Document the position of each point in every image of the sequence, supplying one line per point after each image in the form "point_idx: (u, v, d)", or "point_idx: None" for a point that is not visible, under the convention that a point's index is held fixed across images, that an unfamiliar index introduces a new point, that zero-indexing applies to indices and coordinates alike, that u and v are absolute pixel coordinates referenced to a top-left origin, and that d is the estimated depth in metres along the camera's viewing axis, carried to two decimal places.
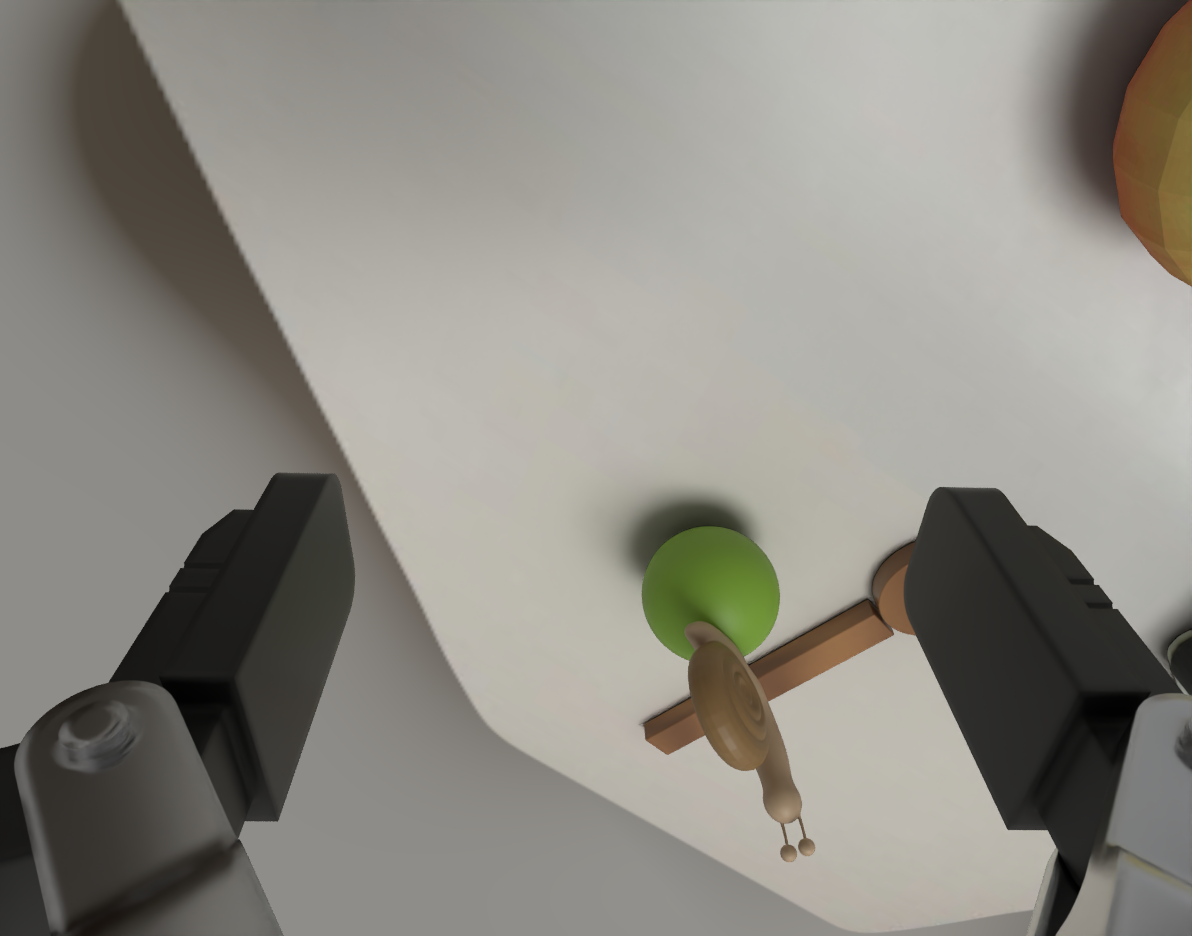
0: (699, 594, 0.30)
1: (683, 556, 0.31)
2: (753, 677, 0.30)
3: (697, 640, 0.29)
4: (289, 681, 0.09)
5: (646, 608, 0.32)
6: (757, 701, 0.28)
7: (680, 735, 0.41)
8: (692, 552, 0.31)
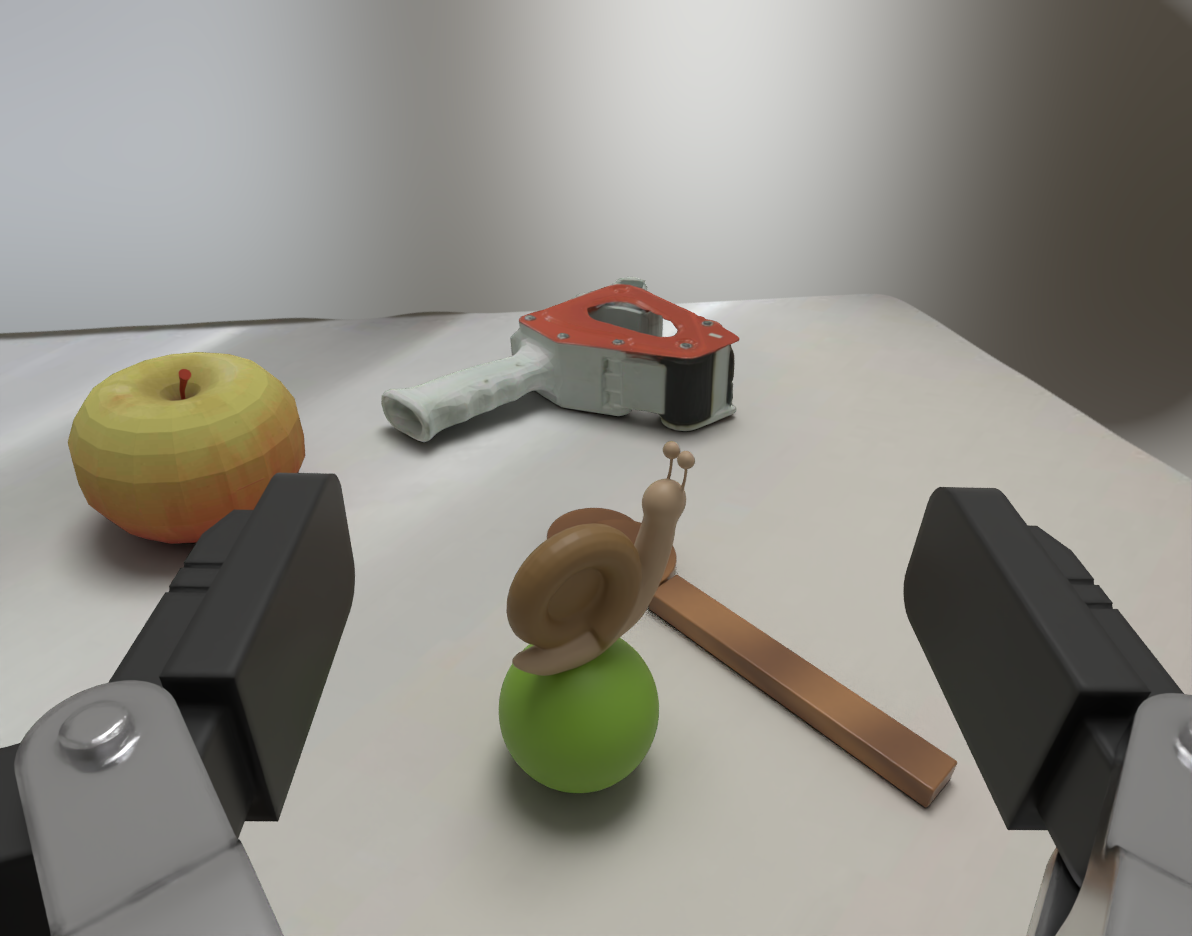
0: (522, 688, 0.26)
1: (506, 730, 0.27)
2: None
3: (529, 651, 0.25)
4: (289, 681, 0.09)
5: (577, 757, 0.25)
6: None
7: (905, 747, 0.29)
8: (502, 723, 0.27)
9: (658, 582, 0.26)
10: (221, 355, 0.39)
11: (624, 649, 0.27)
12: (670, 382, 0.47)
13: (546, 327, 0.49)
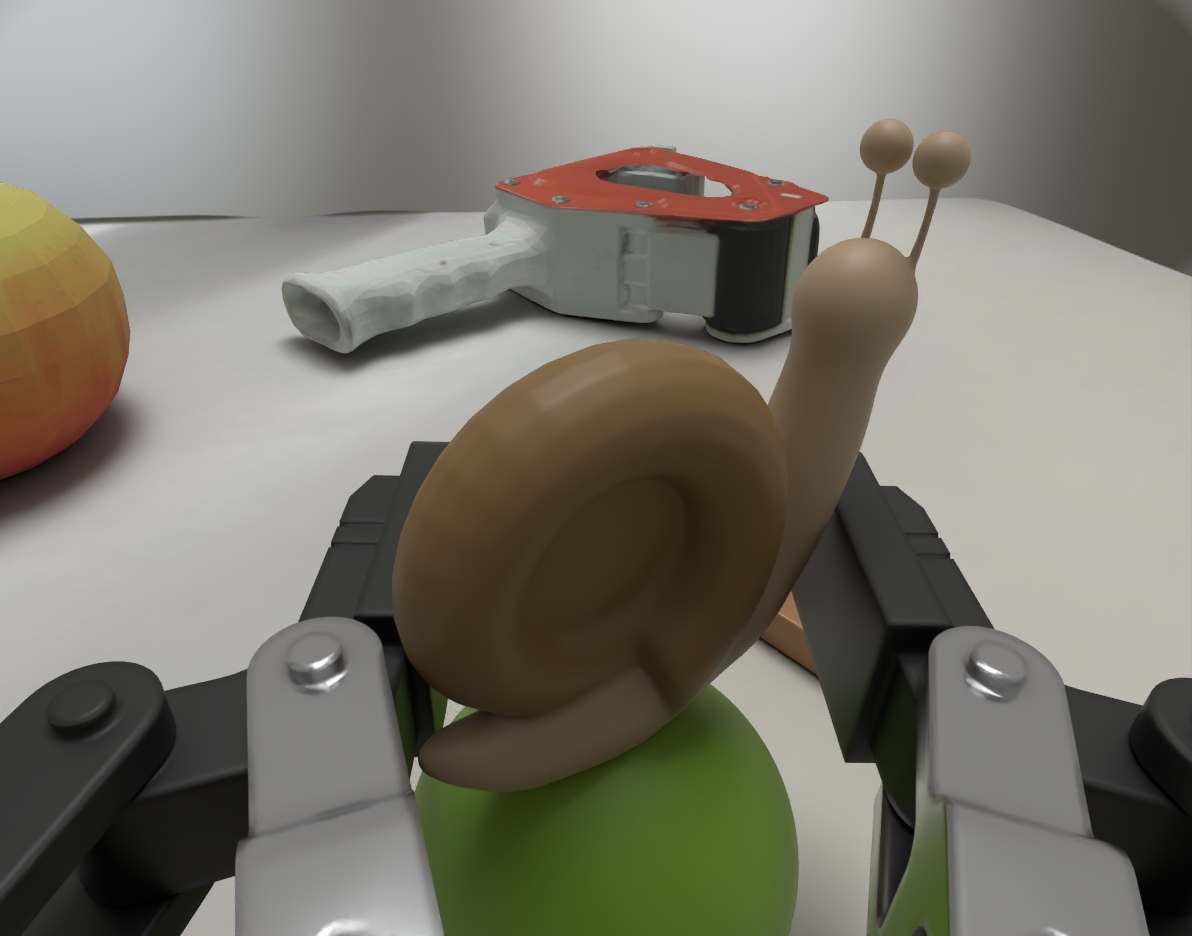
0: (456, 815, 0.10)
1: None
2: None
3: (470, 726, 0.08)
4: None
5: None
6: None
7: None
8: None
9: (819, 536, 0.10)
10: None
11: (717, 707, 0.11)
12: (724, 263, 0.31)
13: (535, 191, 0.33)
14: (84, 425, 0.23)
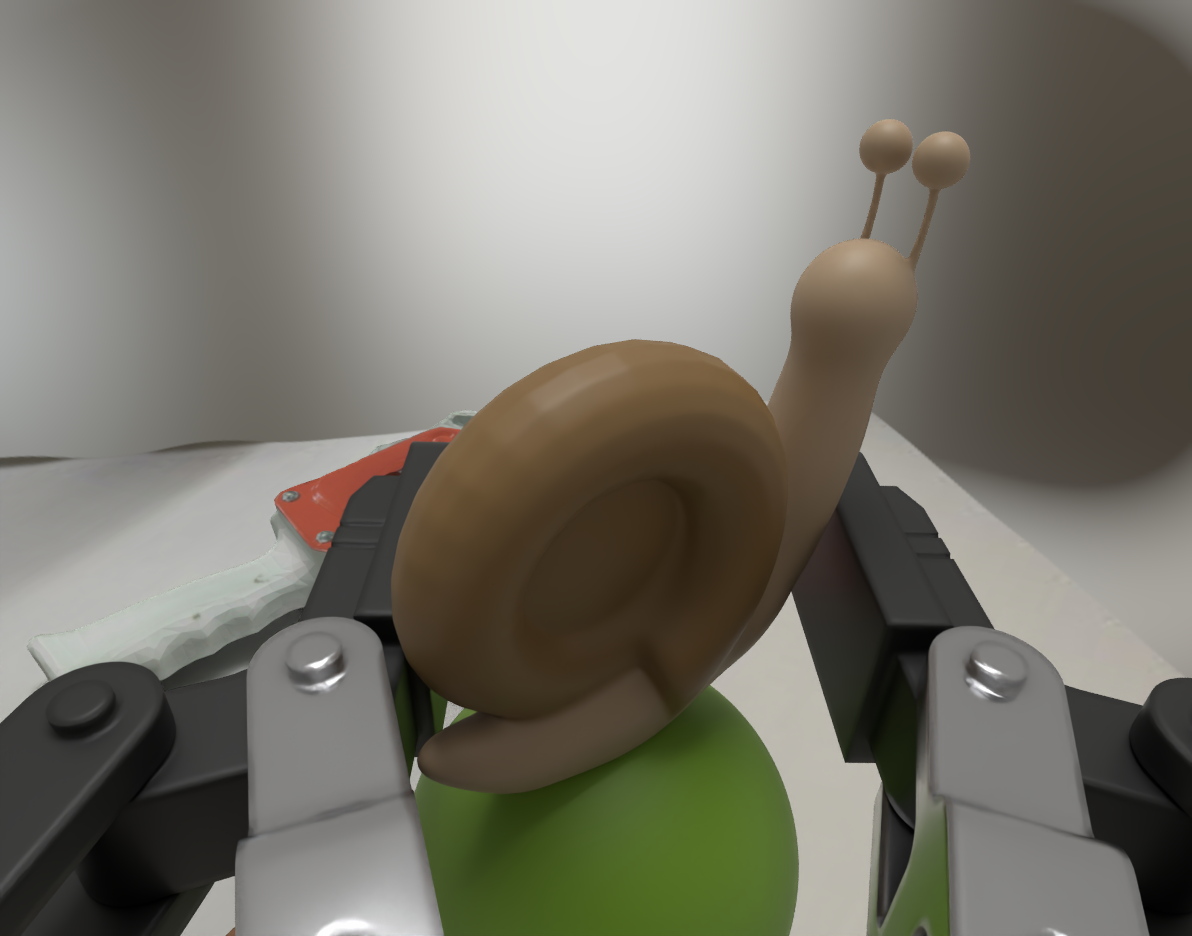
0: (455, 818, 0.10)
1: None
2: None
3: (470, 728, 0.08)
4: None
5: None
6: None
7: None
8: None
9: (819, 537, 0.10)
10: None
11: (717, 707, 0.11)
12: None
13: (308, 516, 0.32)
14: None
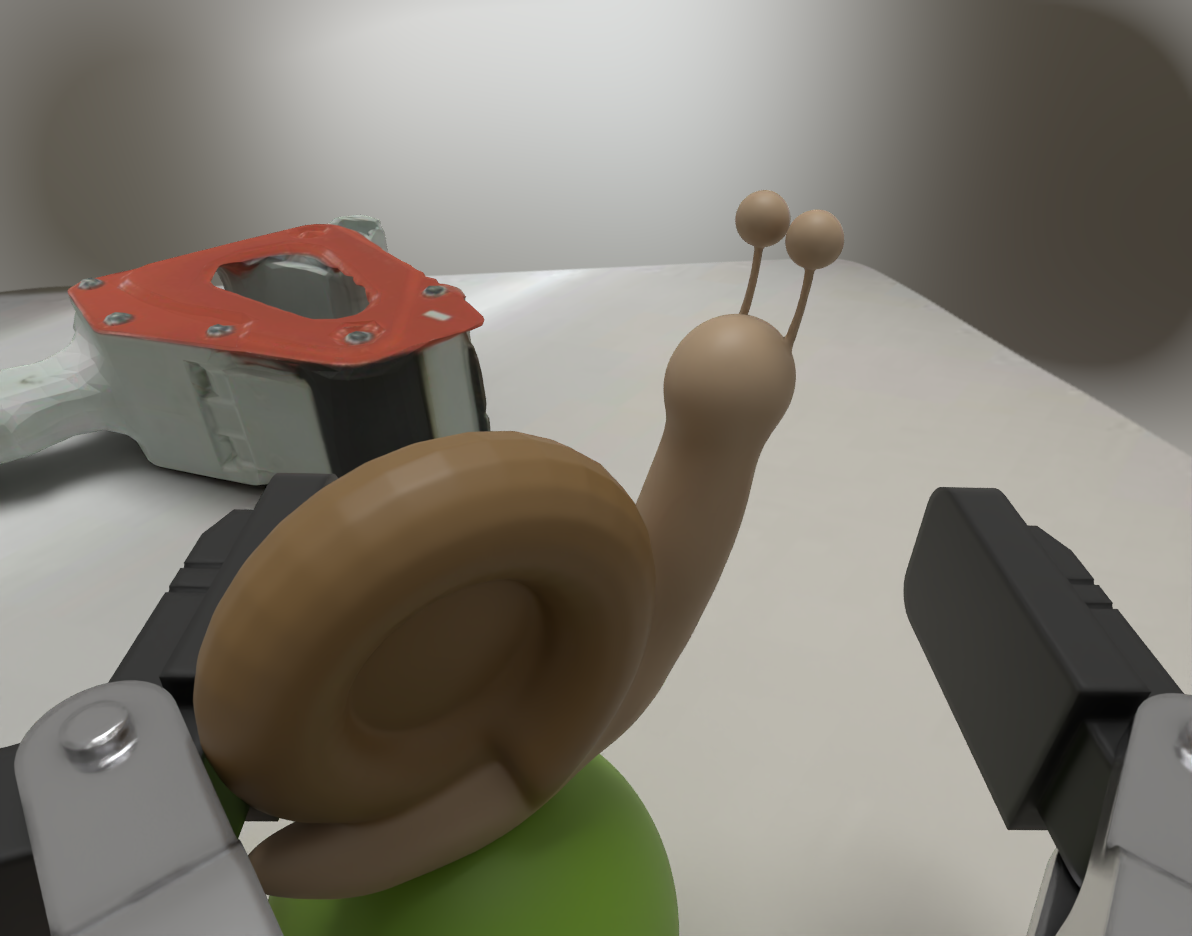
0: (306, 911, 0.09)
1: None
2: None
3: (302, 834, 0.08)
4: None
5: None
6: None
7: None
8: None
9: (697, 618, 0.09)
10: None
11: (596, 786, 0.10)
12: (324, 419, 0.21)
13: (104, 302, 0.24)
14: None
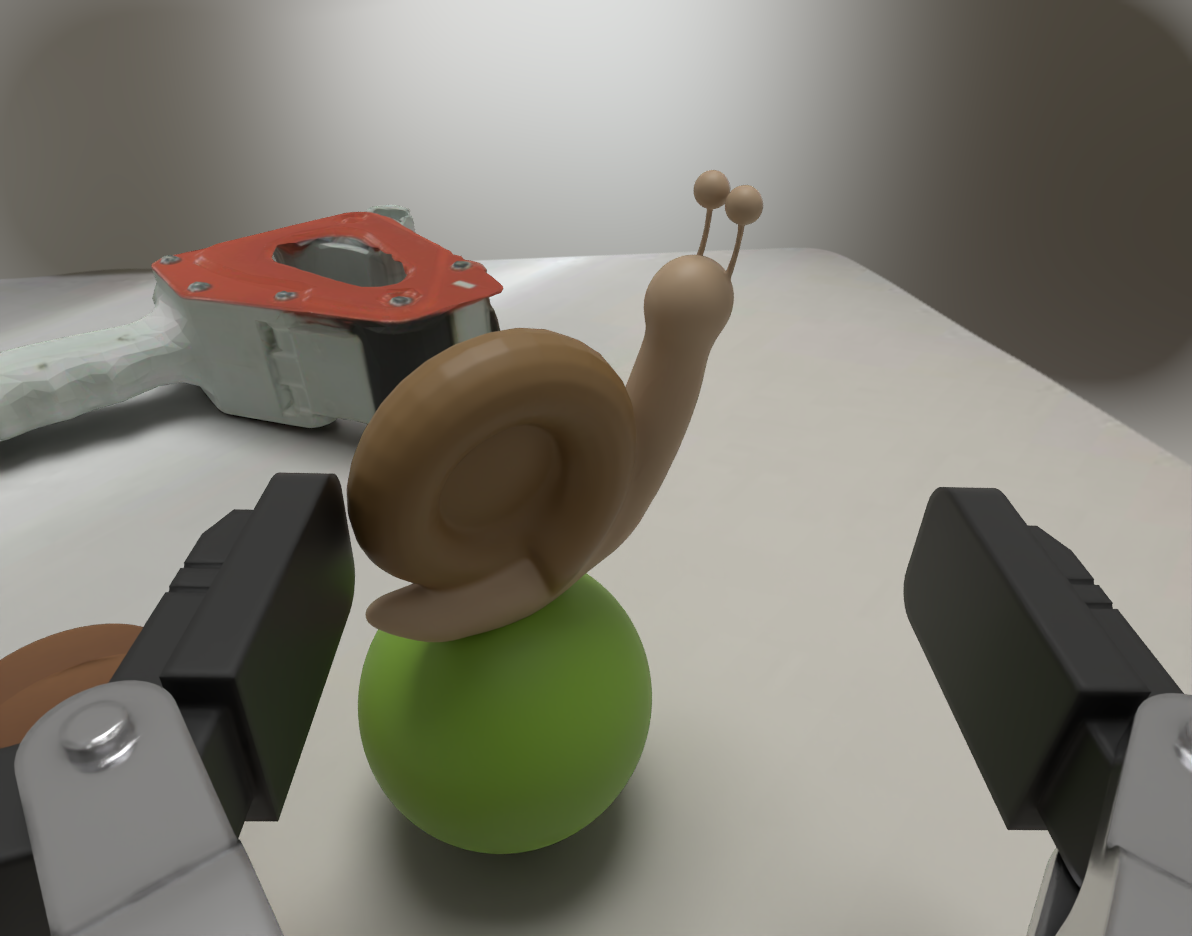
0: (395, 664, 0.14)
1: (365, 739, 0.14)
2: None
3: (403, 594, 0.12)
4: (289, 681, 0.09)
5: (496, 800, 0.13)
6: None
7: None
8: (360, 724, 0.14)
9: (666, 469, 0.14)
10: None
11: (594, 594, 0.15)
12: (372, 368, 0.26)
13: (185, 274, 0.28)
14: None
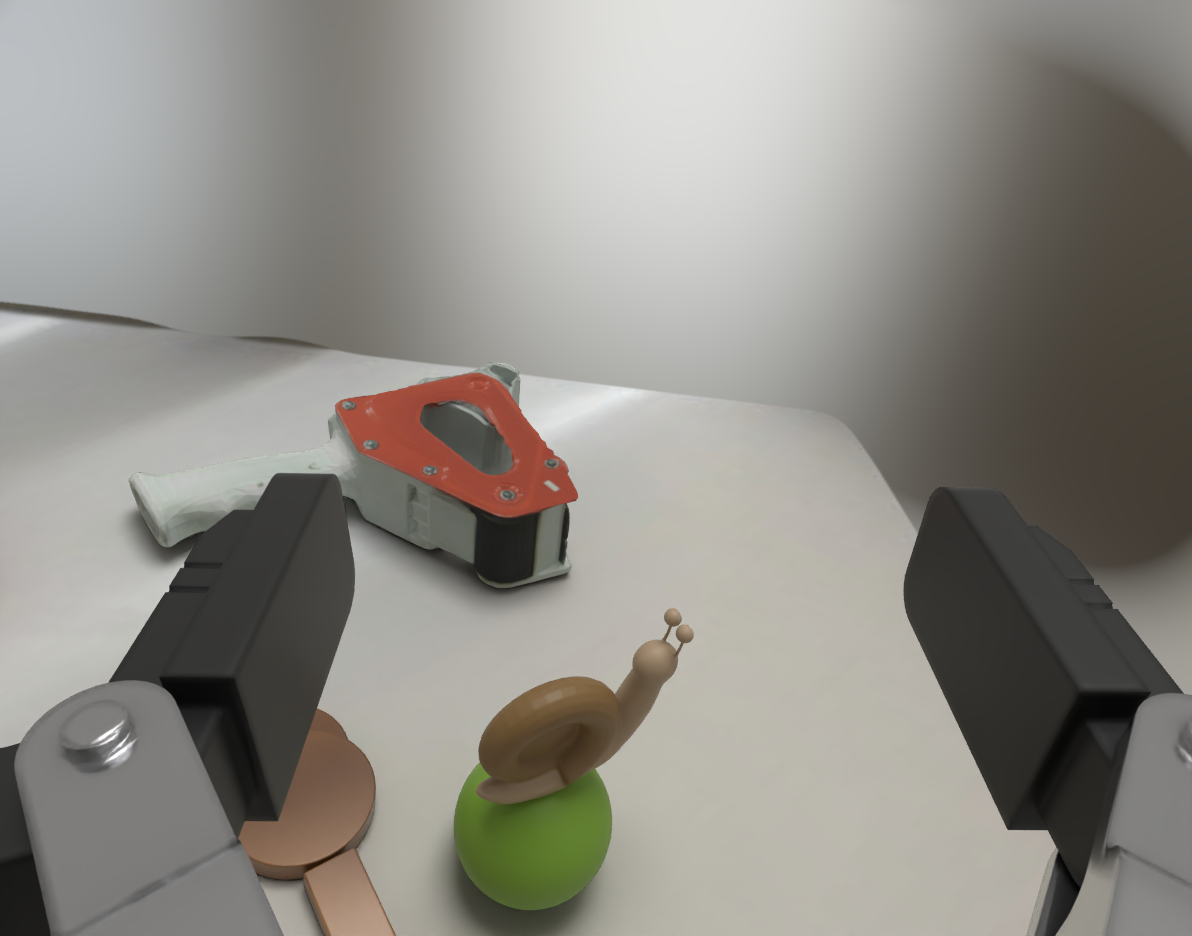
0: (481, 804, 0.26)
1: (458, 837, 0.27)
2: None
3: (494, 782, 0.25)
4: (289, 682, 0.09)
5: (521, 885, 0.26)
6: None
7: None
8: (456, 827, 0.27)
9: (633, 731, 0.26)
10: None
11: (588, 780, 0.27)
12: (479, 535, 0.38)
13: (359, 425, 0.40)
14: None
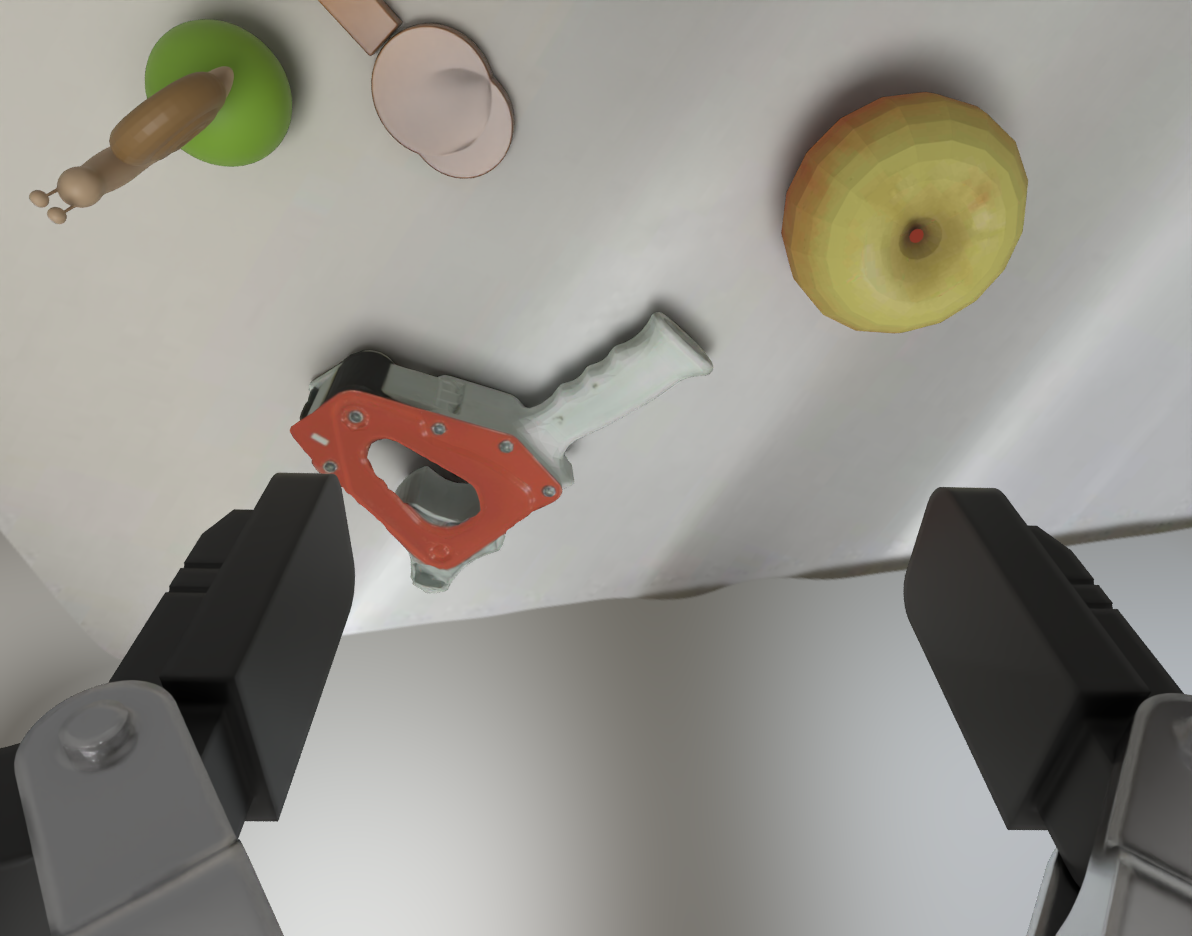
0: (246, 81, 0.31)
1: (270, 62, 0.32)
2: None
3: None
4: (288, 681, 0.09)
5: (198, 25, 0.31)
6: (178, 148, 0.29)
7: None
8: (276, 71, 0.33)
9: None
10: (885, 308, 0.34)
11: None
12: (379, 378, 0.40)
13: (527, 469, 0.41)
14: None
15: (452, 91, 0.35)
